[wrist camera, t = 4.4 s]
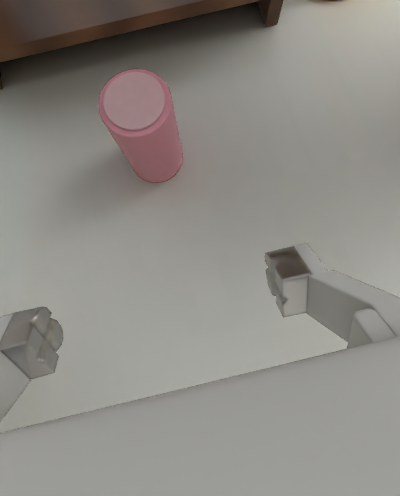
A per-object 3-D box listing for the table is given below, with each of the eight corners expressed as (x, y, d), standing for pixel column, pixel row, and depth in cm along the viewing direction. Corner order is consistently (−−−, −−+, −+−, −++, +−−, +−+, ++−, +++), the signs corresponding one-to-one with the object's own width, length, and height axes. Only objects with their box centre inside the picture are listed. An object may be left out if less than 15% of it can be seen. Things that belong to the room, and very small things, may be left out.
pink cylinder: (176, 128, 27) (162, 58, 19) (188, 175, 26) (178, 125, 18) (126, 140, 27) (90, 75, 19) (136, 188, 26) (104, 143, 18)
